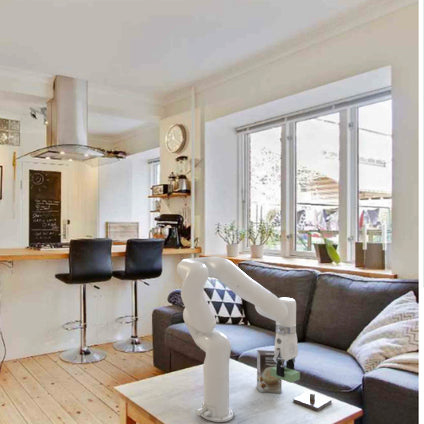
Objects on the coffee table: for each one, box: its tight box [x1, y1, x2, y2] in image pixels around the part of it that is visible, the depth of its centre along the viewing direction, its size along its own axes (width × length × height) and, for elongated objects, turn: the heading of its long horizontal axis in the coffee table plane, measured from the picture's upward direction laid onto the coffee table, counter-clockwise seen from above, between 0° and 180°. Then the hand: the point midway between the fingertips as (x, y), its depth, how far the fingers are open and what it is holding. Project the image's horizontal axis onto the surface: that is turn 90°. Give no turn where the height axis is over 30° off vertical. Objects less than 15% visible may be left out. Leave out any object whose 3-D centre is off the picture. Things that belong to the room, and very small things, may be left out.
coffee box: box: [256, 349, 283, 394], centre depth 182 cm, size 9×6×16 cm
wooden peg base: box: [293, 391, 332, 412], centre depth 169 cm, size 11×10×4 cm
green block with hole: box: [270, 366, 301, 384], centre depth 168 cm, size 6×9×3 cm
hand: (285, 373), depth 168 cm, fingers closed on green block with hole, 6 cm apart
